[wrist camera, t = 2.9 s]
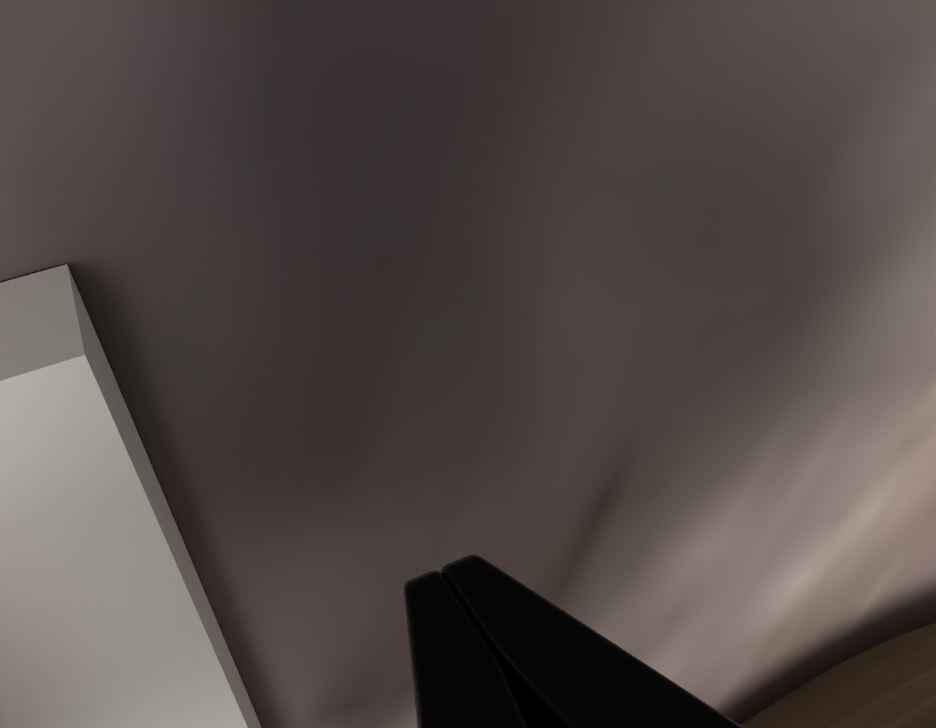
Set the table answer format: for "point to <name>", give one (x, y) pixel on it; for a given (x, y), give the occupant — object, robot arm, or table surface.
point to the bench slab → (92, 544)
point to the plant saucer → (866, 690)
